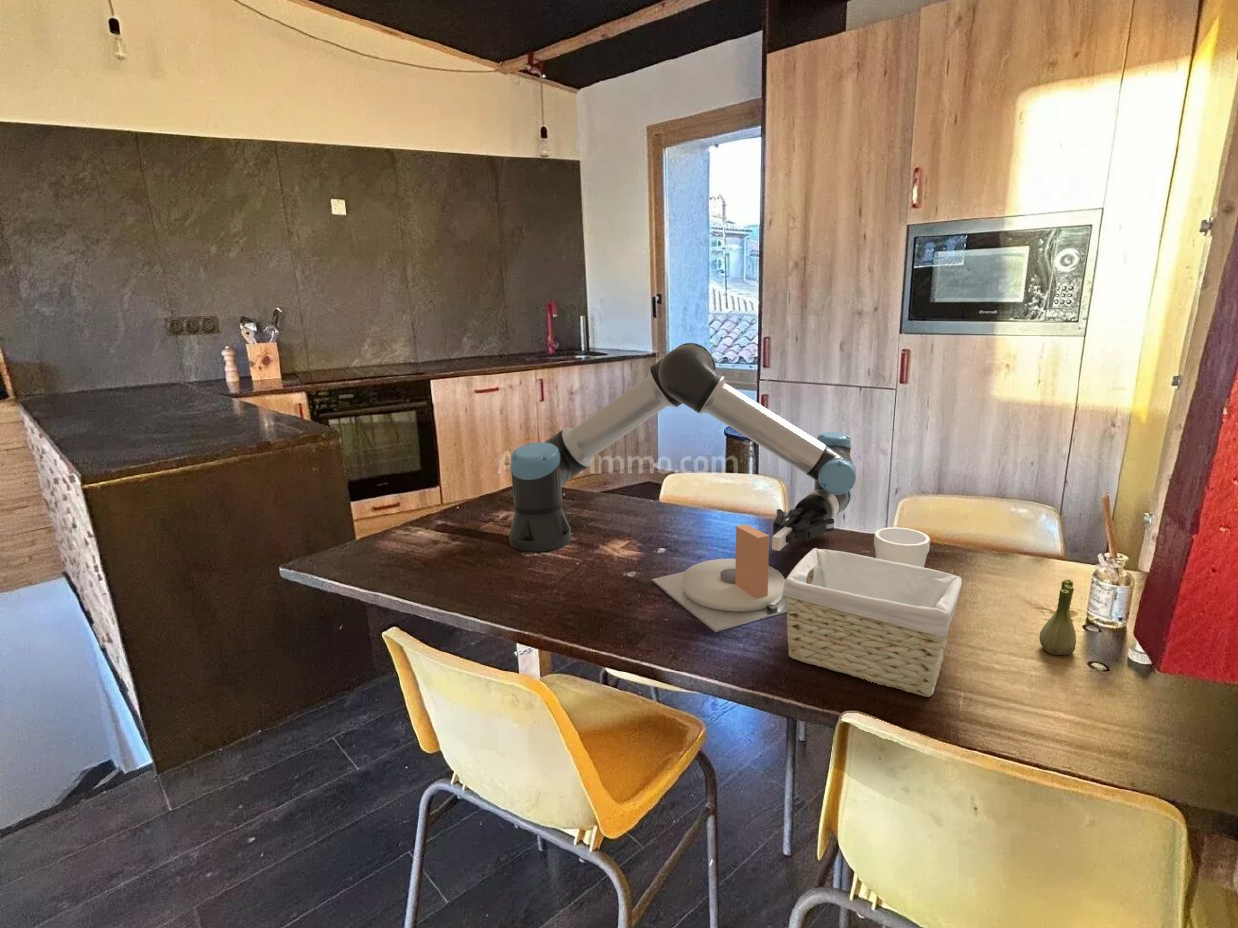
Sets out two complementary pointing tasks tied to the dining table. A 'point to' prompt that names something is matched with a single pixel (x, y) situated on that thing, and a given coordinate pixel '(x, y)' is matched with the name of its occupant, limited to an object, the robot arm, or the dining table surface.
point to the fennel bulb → (1060, 625)
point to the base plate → (714, 616)
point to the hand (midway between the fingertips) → (775, 543)
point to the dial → (737, 576)
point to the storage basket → (870, 618)
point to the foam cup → (901, 545)
